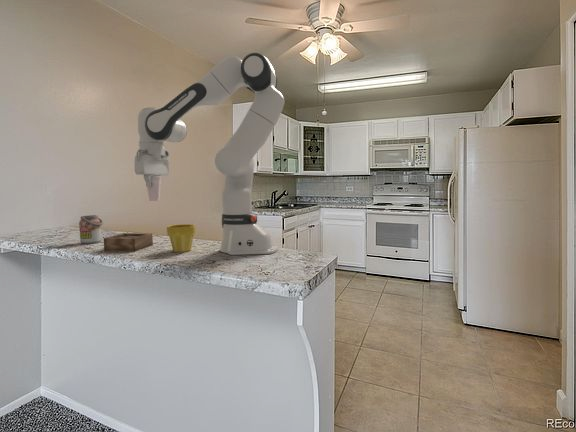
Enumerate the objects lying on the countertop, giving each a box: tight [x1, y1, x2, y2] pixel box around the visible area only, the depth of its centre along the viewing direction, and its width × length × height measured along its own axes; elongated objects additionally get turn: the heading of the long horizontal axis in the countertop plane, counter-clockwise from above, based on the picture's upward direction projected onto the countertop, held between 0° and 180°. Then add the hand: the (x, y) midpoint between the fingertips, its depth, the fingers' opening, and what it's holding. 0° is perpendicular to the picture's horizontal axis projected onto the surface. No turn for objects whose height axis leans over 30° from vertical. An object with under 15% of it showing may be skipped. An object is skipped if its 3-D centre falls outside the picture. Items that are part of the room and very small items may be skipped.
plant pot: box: [166, 223, 196, 253], centre depth 127 cm, size 10×10×10 cm
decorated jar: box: [78, 214, 104, 245], centre depth 145 cm, size 9×8×12 cm
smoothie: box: [146, 175, 163, 202], centre depth 129 cm, size 6×6×14 cm
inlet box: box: [102, 232, 154, 252], centre depth 133 cm, size 13×13×5 cm
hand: (153, 186), depth 129 cm, fingers closed on smoothie, 5 cm apart
